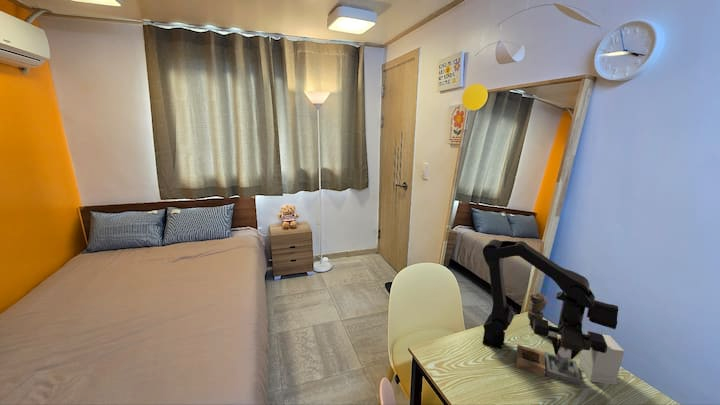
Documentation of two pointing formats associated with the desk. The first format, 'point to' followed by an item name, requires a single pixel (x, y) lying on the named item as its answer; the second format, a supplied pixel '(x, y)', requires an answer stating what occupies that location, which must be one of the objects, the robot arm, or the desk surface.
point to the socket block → (529, 365)
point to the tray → (565, 375)
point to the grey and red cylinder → (563, 357)
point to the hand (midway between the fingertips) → (563, 356)
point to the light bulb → (536, 307)
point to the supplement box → (602, 362)
